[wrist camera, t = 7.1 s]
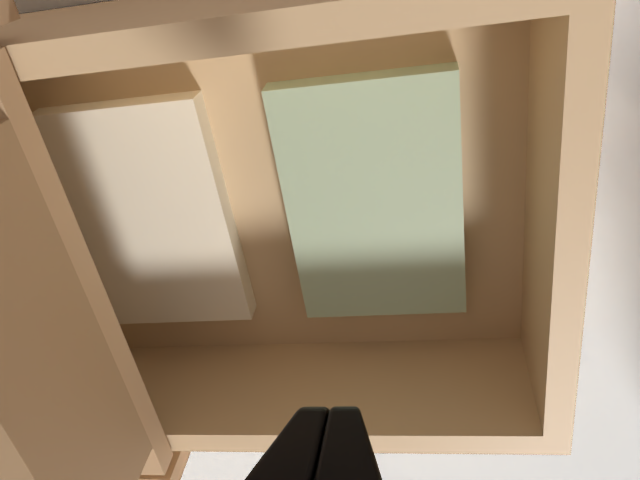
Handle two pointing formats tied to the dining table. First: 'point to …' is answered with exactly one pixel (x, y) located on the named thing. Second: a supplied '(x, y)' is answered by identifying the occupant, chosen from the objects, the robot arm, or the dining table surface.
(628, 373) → the dining table surface
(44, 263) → the lid
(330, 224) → the mailer box
